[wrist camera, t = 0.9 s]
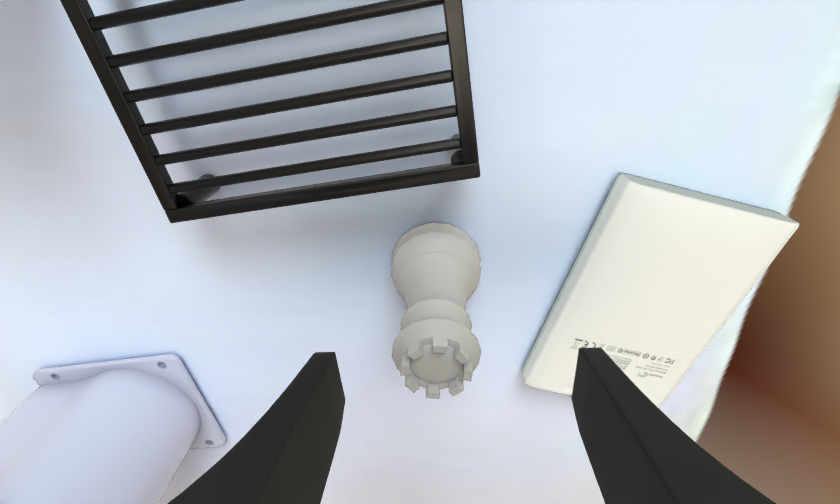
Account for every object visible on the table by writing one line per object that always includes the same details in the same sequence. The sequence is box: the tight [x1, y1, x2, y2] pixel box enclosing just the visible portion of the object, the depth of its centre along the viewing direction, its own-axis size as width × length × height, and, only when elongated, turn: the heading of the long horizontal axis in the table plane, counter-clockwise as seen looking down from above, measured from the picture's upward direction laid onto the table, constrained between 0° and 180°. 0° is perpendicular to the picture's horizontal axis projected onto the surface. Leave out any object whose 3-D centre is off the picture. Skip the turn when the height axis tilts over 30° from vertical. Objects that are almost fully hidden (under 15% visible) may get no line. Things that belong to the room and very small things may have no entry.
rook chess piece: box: [391, 222, 481, 399], centre depth 18 cm, size 4×4×8 cm
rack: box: [60, 0, 480, 223], centre depth 16 cm, size 13×10×3 cm
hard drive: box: [521, 173, 799, 409], centre depth 22 cm, size 2×8×12 cm
